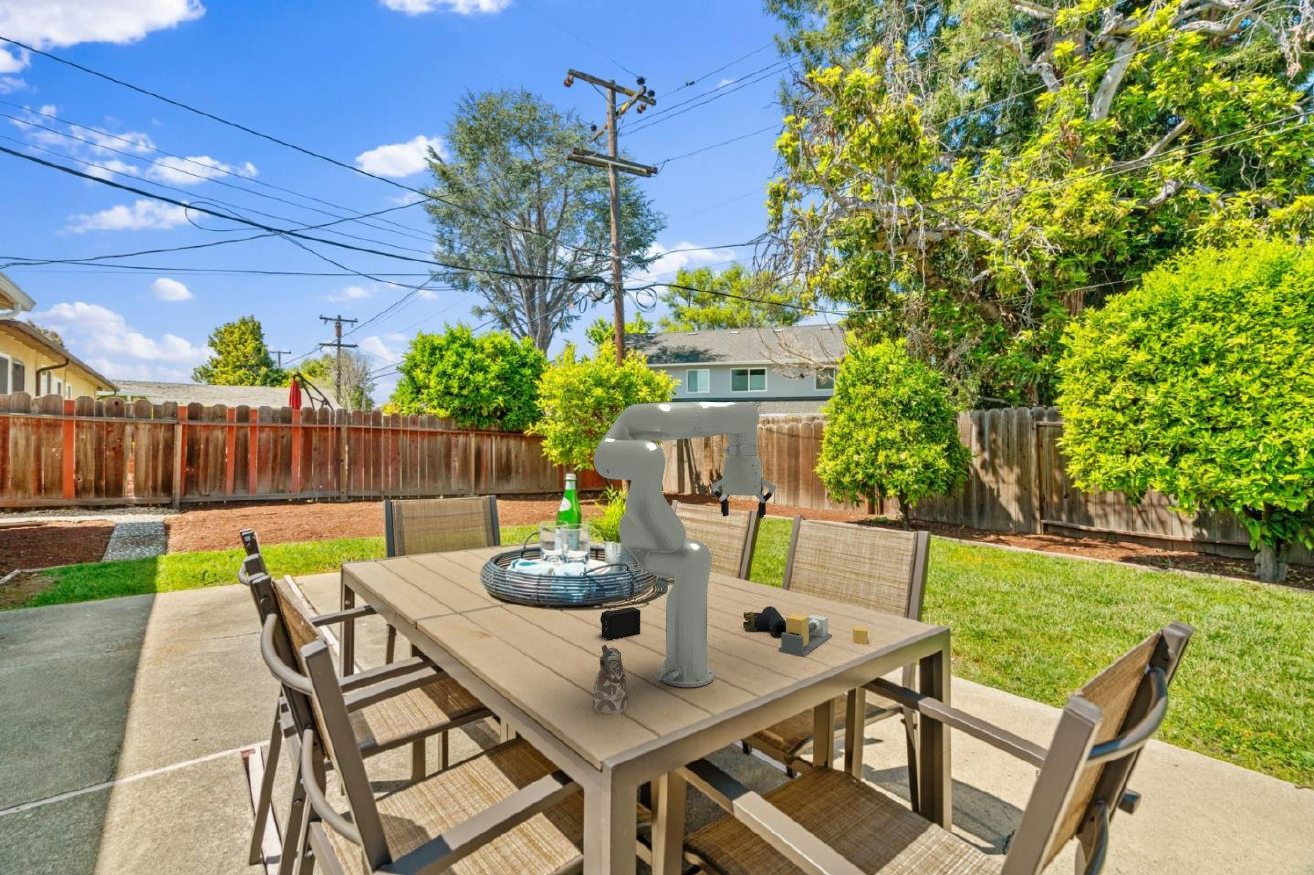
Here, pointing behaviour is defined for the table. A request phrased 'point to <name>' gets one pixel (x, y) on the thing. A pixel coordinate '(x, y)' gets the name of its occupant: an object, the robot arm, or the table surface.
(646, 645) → the table surface
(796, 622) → the yellow sliding block
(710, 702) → the table surface
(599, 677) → the figurine
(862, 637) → the mustard yellow cube
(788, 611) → the table surface
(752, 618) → the pipe connector
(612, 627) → the digital camera
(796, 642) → the grey slider rail base
